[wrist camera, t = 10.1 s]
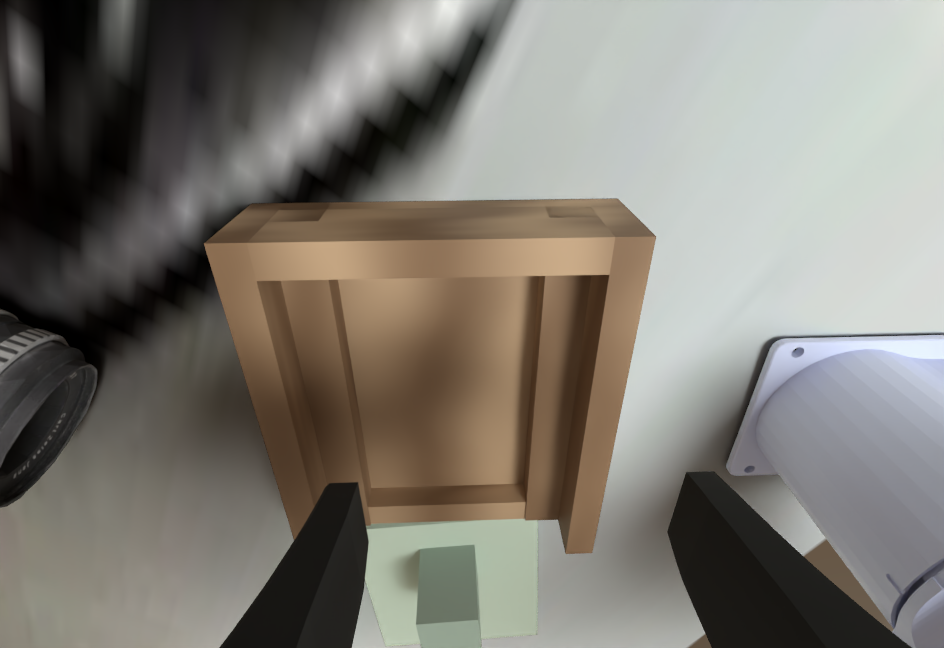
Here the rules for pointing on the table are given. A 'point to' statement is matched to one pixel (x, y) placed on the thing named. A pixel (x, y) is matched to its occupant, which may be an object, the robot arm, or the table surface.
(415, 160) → the table surface
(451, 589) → the lid
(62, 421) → the camera
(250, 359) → the box
